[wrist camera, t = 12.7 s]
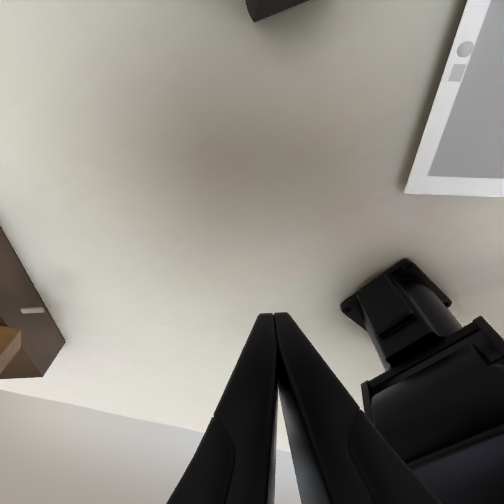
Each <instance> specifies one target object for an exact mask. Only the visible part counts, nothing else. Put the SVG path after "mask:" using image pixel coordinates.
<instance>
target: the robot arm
mask: <svg viewBox="0 0 504 504" xmlns="http://www.w3.org/2000/svg"><path fill="white" fill-rule="evenodd" d="M405 265H408V266H406V267H404V266H405ZM451 304H452V301H451V300H450V299H449V298H448V297H447V296H446V295H445V294H444V293H443V292H442V291H441V290H440V289H439V288H438V287H437V286H436V285H435V284H434V283H433V282H432V281H431V280H430V279H429V278H428V277H427V276H426V275H425V274H424V273H423V272H422V271H421V270H420V269H419V268H418V267H417V266H416V265H415V264H414V263H413V262H412V261H411V260H410V259H403V260H401V261H400V262H399V263H397V264H396V265H394V266H393V267H392V268H390V269H389V270H387V271H386V272H385V273H383V274H382V275H381V276H379V277H378V278H376V279H375V280H374V281H372V282H371V283H370V284H368V285H367V286H365V287H364V288H363V289H361V290H360V291H359V292H357V293H356V294H354V295H353V296H352V297H350V298H349V299H347V300H346V301H345V302H343V303H342V304H341V306H340V307H341V310H342V312H343V313H344V314H345V315H347V316H348V317H349V318H350V319H352V320H353V321H354V322H356V323H357V324H358V325H360V326H361V327H362V328H364V329H365V330H366V331H367V332H368V333H369V336H370V338H371V340H372V342H373V344H374V346H375V349H376V351H377V353H378V355H379V357H380V360H381V362H382V364H383V366H384V368H385V371H386V372H384V373H382V374H381V375H379V376H377V377H375V378H374V379H372V380H370V381H368V380H367V381H366V382H364V383H362V384H361V390H362V398H363V405H364V412H363V411H362V410H359V409H360V407H359V406H358V404H357V403H356V402H355V401H354V399H353V398H352V397H351V395H350V394H349V393H348V391H347V390H346V389H345V387H344V386H343V385H342V383H341V382H340V381H339V379H338V378H337V377H336V375H335V374H334V373H333V371H332V370H331V369H330V368H329V366H328V365H327V364H326V362H325V361H324V360H323V358H322V357H321V356H320V354H319V353H318V352H317V350H316V349H315V348H314V346H313V345H312V344H311V342H310V341H309V340H308V339H307V337H306V336H305V335H304V333H303V332H302V331H301V329H300V328H299V327H298V325H297V324H296V323H295V321H294V320H293V319H292V317H291V316H290V315H289V314H288V313H287V312H281V313H274V315H273V314H272V313H262V314H259V315H258V317H257V319H256V321H255V324H254V326H253V328H252V330H251V332H250V335H249V337H248V339H247V341H246V344H245V346H244V348H243V350H242V352H241V355H240V357H239V359H238V361H237V364H236V366H235V368H234V370H233V372H232V375H231V377H230V379H229V381H228V384H227V386H226V388H225V390H224V392H223V395H222V397H221V399H220V401H219V403H218V406H217V408H216V410H215V412H214V417H212V419H211V421H210V423H209V425H208V427H207V430H206V432H205V434H204V436H203V438H202V440H201V442H200V444H199V446H198V448H197V451H196V453H195V454H194V457H193V458H192V460H191V462H190V464H189V466H188V467H187V469H186V471H185V473H184V475H183V476H182V478H181V480H180V482H179V483H178V485H177V487H176V488H175V490H174V492H173V493H172V495H171V497H170V498H169V500H168V502H167V503H166V504H274V494H275V466H276V438H277V410H278V389H279V395H280V401H281V406H282V411H283V415H284V420H285V425H286V430H287V435H288V440H289V445H290V450H291V454H292V459H293V464H294V469H295V474H296V479H297V483H298V488H299V493H300V498H301V503H302V504H504V339H503V338H502V337H501V336H500V335H499V334H498V333H497V332H496V331H495V330H494V329H493V328H492V327H491V326H490V325H489V324H488V323H487V321H486V320H485V319H484V318H483V317H482V316H479V317H477V318H476V319H474V320H472V321H473V322H472V323H470V324H468V325H467V326H465V327H462V326H461V325H460V323H459V322H458V321H457V320H456V319H455V317H454V316H453V315H452V314H451V313H450V311H449V310H448V309H447V308H448V307H450V306H451ZM347 307H349V308H347Z"/></svg>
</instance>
